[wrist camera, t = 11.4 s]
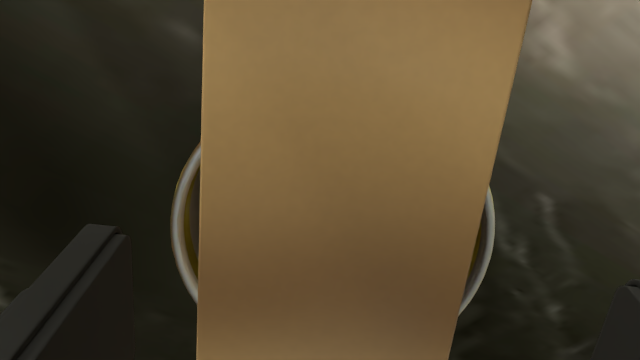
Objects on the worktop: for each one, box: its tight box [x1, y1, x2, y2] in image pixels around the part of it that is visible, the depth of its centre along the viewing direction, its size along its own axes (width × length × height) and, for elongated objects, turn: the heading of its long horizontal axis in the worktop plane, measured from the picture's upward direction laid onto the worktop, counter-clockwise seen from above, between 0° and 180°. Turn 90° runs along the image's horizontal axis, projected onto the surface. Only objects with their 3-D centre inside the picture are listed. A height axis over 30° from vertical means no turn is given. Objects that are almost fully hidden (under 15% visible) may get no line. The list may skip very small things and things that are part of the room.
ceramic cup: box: [171, 141, 495, 316], centre depth 21 cm, size 13×10×10 cm
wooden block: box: [196, 0, 532, 360], centre depth 15 cm, size 13×6×4 cm, turn 174°
